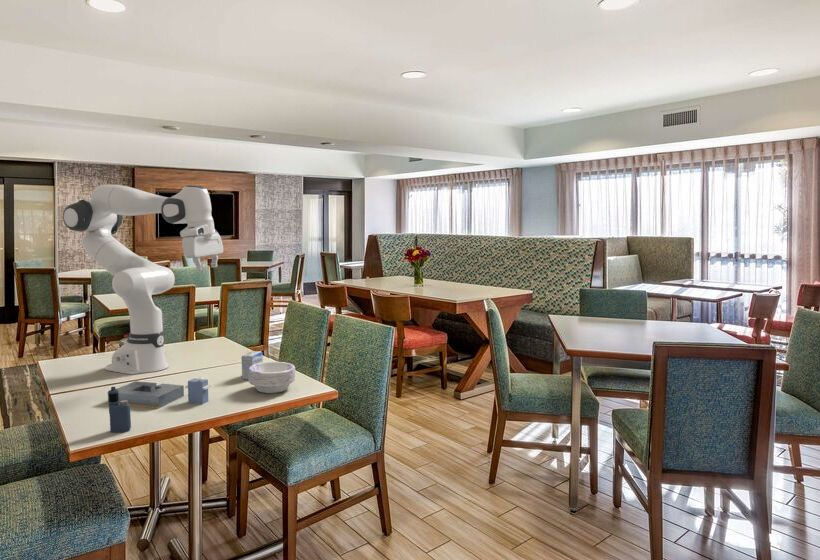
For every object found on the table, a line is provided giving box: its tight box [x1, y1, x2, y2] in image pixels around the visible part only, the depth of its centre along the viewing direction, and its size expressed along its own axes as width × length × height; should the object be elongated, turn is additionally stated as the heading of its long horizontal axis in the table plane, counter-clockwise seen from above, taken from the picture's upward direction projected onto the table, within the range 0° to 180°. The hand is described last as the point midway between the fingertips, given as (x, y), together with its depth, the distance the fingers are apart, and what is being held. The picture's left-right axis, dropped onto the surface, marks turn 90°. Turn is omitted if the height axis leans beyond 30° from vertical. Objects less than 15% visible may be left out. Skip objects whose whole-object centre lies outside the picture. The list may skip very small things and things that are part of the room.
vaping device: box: [107, 386, 132, 433], centre depth 145 cm, size 3×5×12 cm, turn 95°
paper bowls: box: [248, 361, 296, 394], centre depth 183 cm, size 15×15×8 cm
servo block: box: [184, 377, 212, 405], centre depth 169 cm, size 7×3×8 cm, turn 77°
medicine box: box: [241, 350, 264, 381], centre depth 197 cm, size 8×4×9 cm, turn 168°
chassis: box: [106, 380, 185, 409], centre depth 170 cm, size 18×13×4 cm
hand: (207, 268), depth 195 cm, fingers open, 8 cm apart
